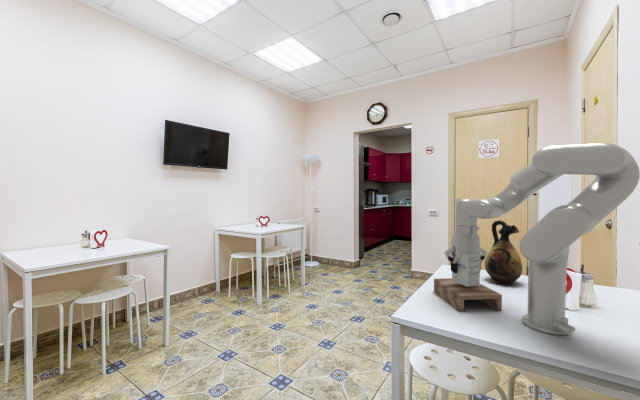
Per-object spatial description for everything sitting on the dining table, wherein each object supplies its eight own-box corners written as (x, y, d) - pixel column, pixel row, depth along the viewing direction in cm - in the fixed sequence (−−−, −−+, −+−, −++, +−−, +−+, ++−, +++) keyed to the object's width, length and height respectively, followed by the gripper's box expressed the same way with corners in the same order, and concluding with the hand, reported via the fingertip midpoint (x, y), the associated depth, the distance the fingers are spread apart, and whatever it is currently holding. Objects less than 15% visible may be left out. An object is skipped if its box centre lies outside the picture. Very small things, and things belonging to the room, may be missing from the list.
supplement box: (451, 282, 113) (451, 251, 113) (464, 279, 116) (464, 249, 116) (467, 287, 106) (467, 254, 106) (480, 284, 109) (480, 253, 109)
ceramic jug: (530, 285, 130) (531, 222, 130) (508, 289, 125) (509, 223, 124) (495, 275, 146) (496, 218, 145) (474, 278, 140) (475, 219, 140)
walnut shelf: (501, 310, 102) (501, 294, 102) (459, 312, 101) (460, 295, 101) (469, 291, 122) (469, 278, 122) (433, 292, 121) (434, 278, 121)
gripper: (480, 228, 115) (480, 269, 115) (440, 228, 114) (440, 270, 114) (493, 230, 107) (492, 274, 108) (450, 231, 106) (449, 275, 107)
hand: (465, 272), depth 111 cm, fingers closed on supplement box, 9 cm apart
